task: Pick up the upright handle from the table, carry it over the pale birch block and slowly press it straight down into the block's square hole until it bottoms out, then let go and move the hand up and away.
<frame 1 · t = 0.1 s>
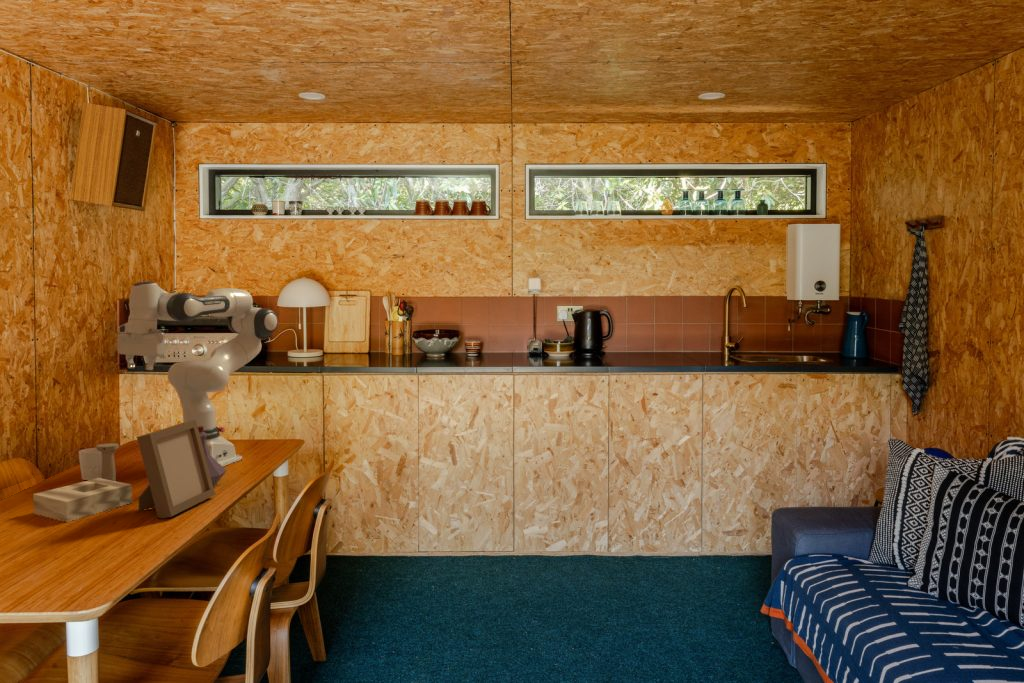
hand: (140, 369, 246), 39 cm above the table, tool pointing down, fingers open, 8 cm apart
photo frame: (172, 507, 221), on the table
flask: (201, 485, 244), on the table
handle: (109, 490, 238), on the table
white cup: (93, 479, 252), on the table
socket block: (90, 506, 221), on the table
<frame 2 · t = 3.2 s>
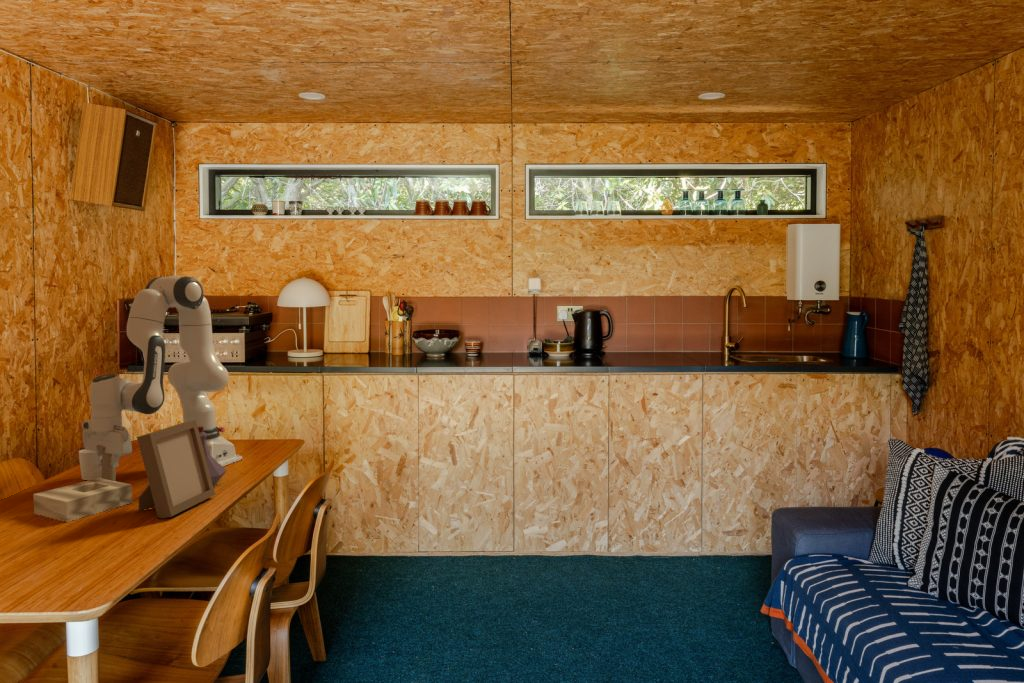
hand: (108, 465, 238), 8 cm above the table, tool pointing down, fingers closed on handle, 5 cm apart
handle: (109, 490, 238), on the table, touching gripper
everything else where it was.
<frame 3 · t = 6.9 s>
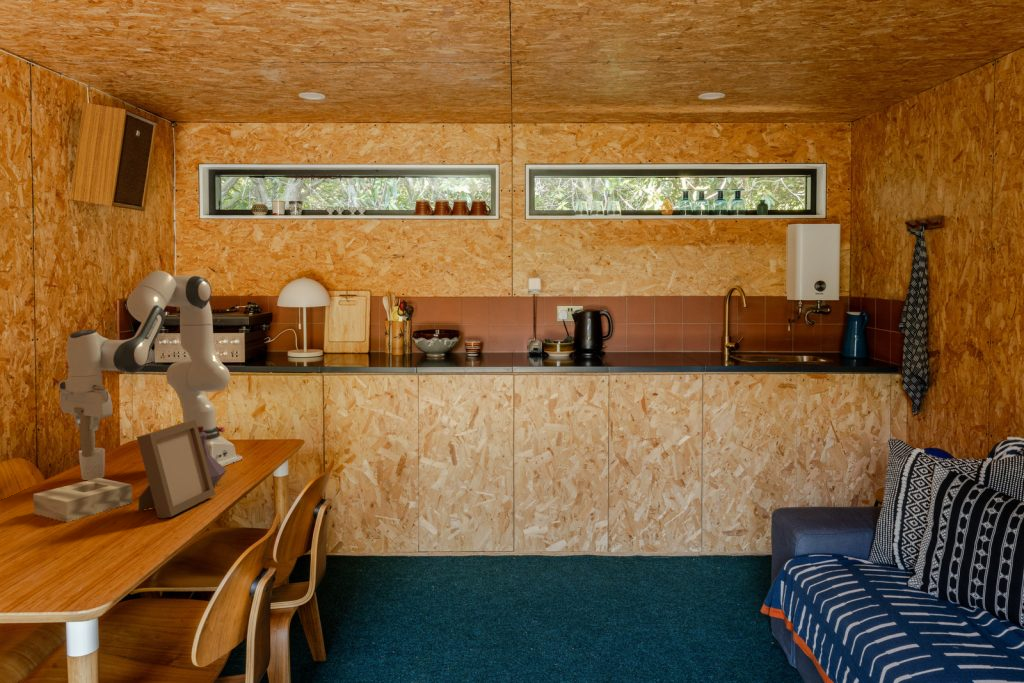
hand: (87, 429, 219), 24 cm above the table, tool pointing down, fingers closed on handle, 5 cm apart
handle: (88, 456, 219), point 16 cm above the table, touching gripper
everything else where it was.
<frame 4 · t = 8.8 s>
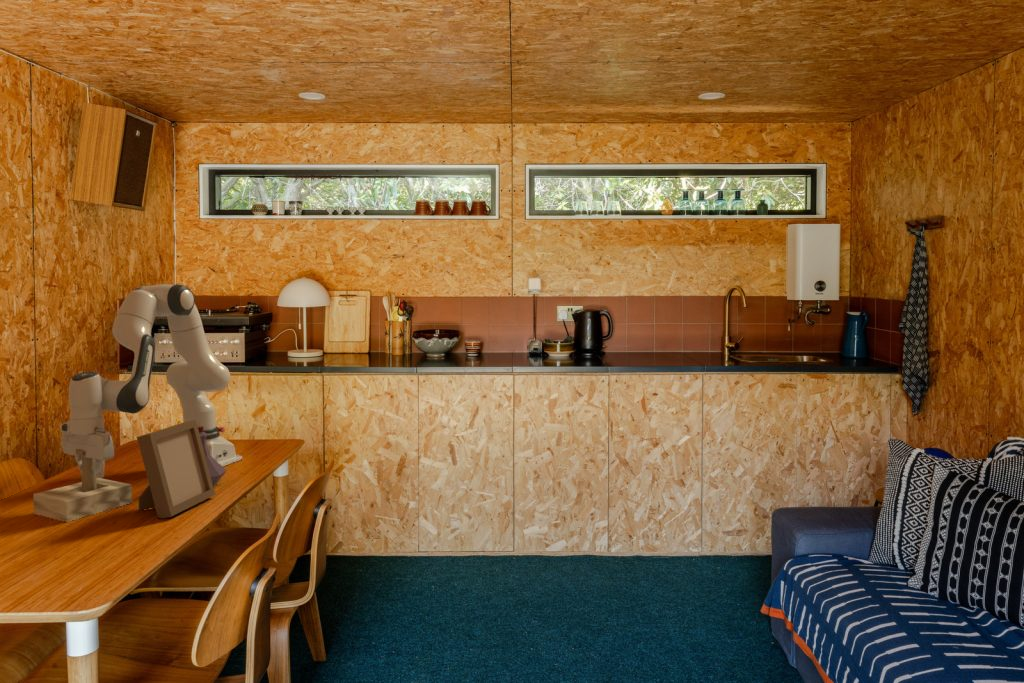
hand: (89, 471, 220), 11 cm above the table, tool pointing down, fingers closed on handle, 5 cm apart
handle: (89, 498, 220), point 3 cm above the table, touching gripper
everything else where it was.
when the fingers open (9 cm above the table, at t = 10.3 s): handle drops 1 cm, resting in socket block.
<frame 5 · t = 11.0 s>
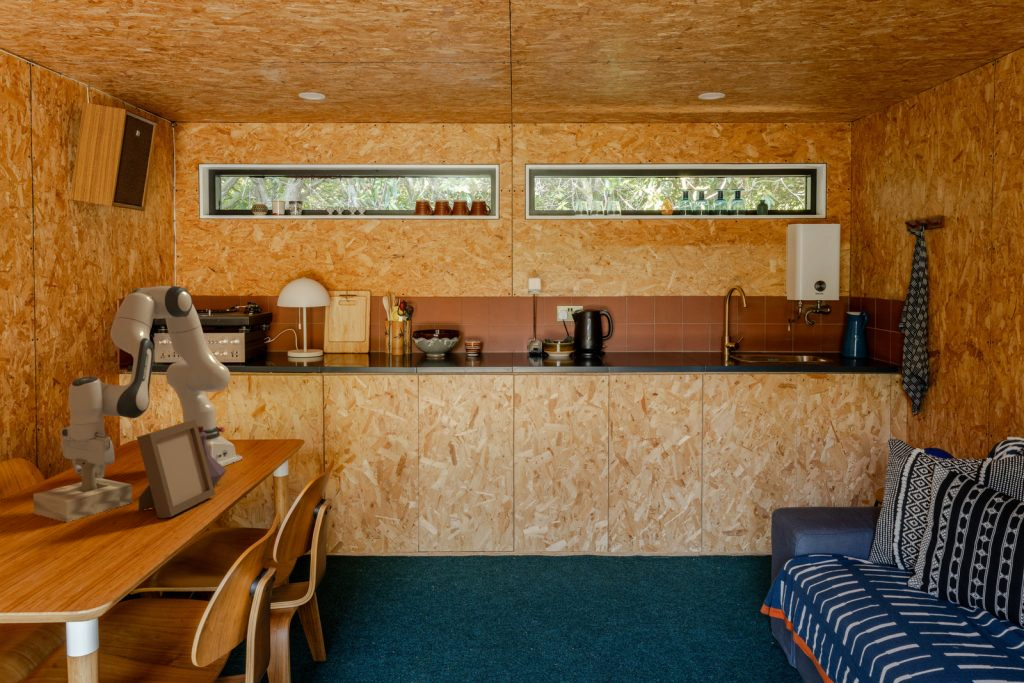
hand: (89, 476, 220), 10 cm above the table, tool pointing down, fingers open, 8 cm apart
handle: (90, 507, 221), resting in socket block
everything else where it was.
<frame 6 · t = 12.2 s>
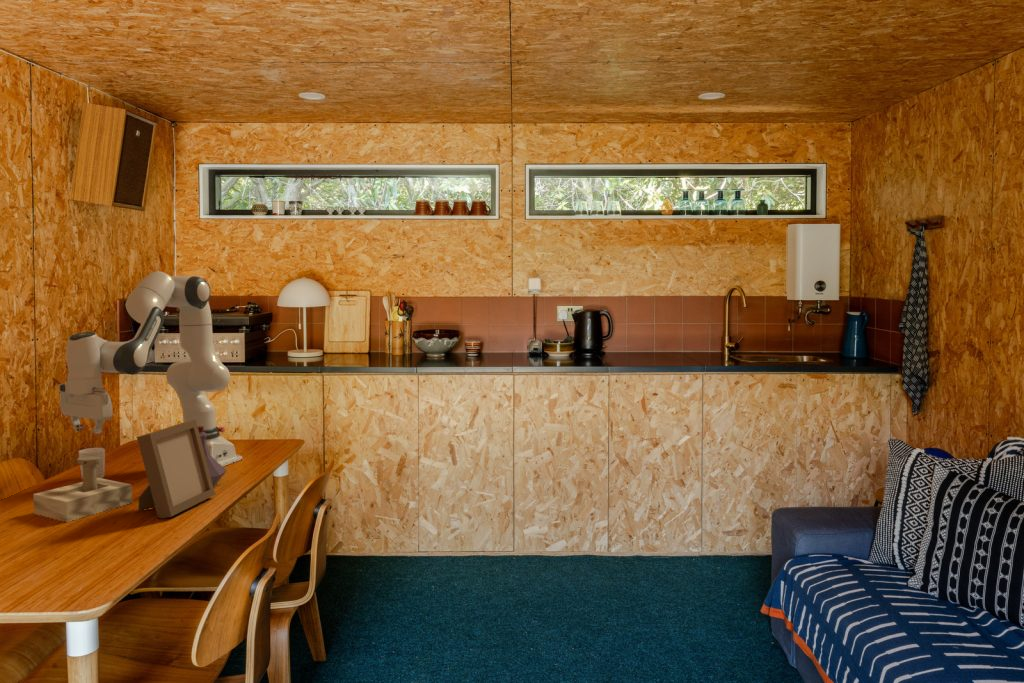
hand: (87, 431, 219), 23 cm above the table, tool pointing down, fingers open, 8 cm apart
nothing on the table moved.
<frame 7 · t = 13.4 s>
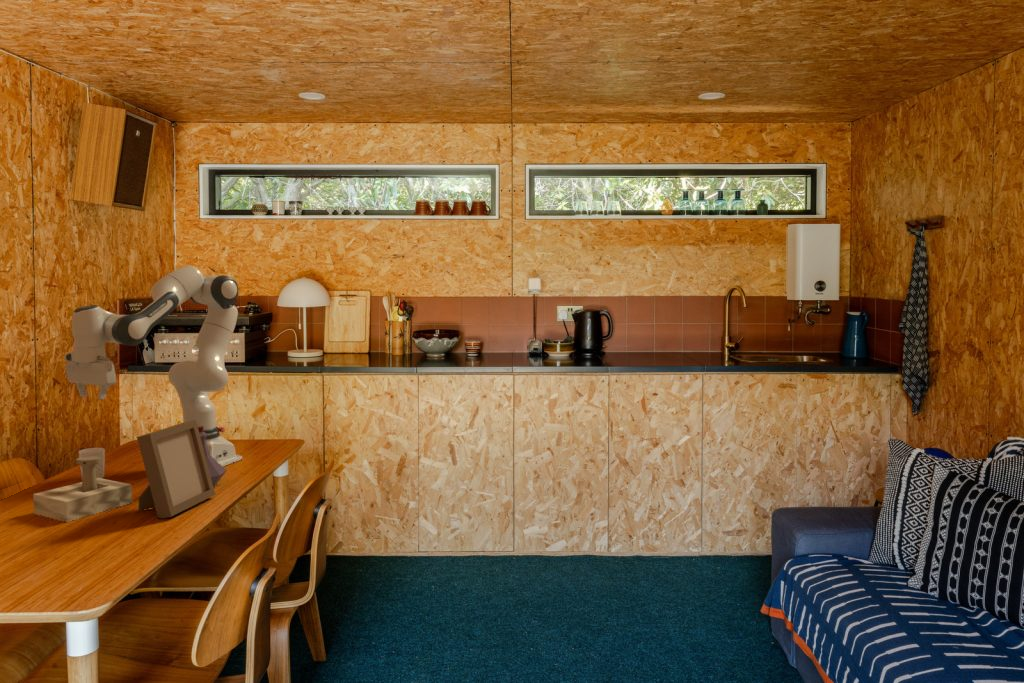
hand: (92, 397, 236), 31 cm above the table, tool pointing down, fingers open, 8 cm apart
nothing on the table moved.
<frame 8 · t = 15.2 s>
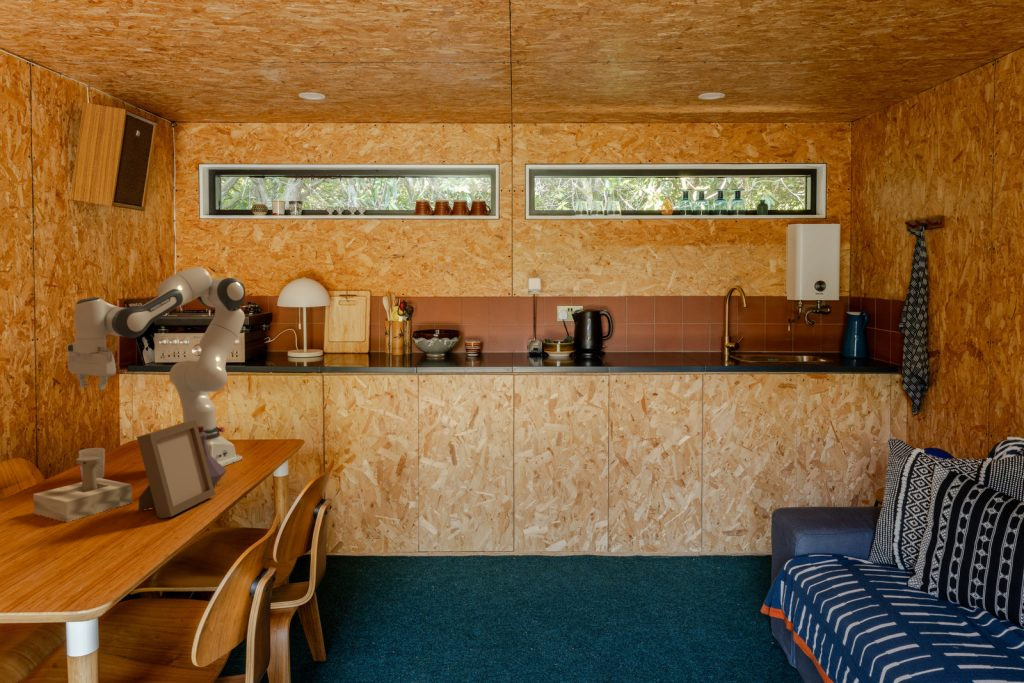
hand: (92, 388, 240), 33 cm above the table, tool pointing down, fingers open, 8 cm apart
nothing on the table moved.
at the end: handle 0.3 cm off-centre on the socket block, point 0.0 cm above the socket block's base; handle tilted 0°; the gripper is holding nothing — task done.
